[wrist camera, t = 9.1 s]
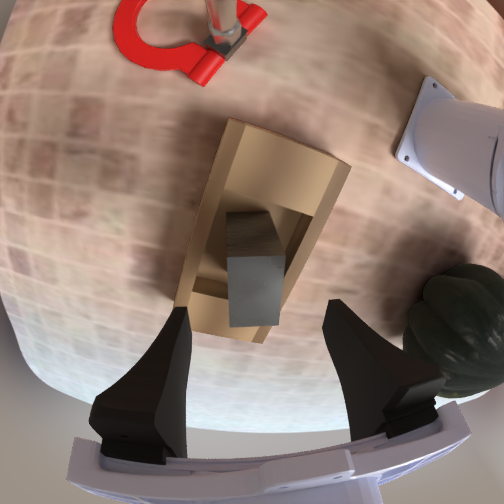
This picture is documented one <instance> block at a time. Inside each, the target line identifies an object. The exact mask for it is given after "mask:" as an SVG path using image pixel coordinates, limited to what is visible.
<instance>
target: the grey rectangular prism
mask: <svg viewBox="0 0 504 504" xmlns="http://www.w3.org/2000/svg"><path fill="white" fill-rule="evenodd" d="M226 238H227V274H228V303H229V328H233V327H257V326H274V325H279V316H280V308H281V299H282V289H283V280H284V270H285V260H286V254H285V252H284V249H283V246H282V244H281V241H280V238H279V236H278V233H277V230H276V228H275V225H274V222H273V220H272V217H271V214H270V212H269V211H241V212H226Z"/></svg>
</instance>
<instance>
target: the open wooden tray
mask: <svg viewBox="0 0 504 504" xmlns="http://www.w3.org/2000/svg"><path fill="white" fill-rule="evenodd" d="M351 167H352V166H350V165H348V164H347V163H345V162H343V161H342V160H340V159H338V158H336V157H335V156H332V155H330V154H328V153H325V152H323V151H321V150H318V149H316V148H314V147H311V146H309V145H306V144H304V143H301V142H299V141H296V140H294V139H291V138H288V137H286V136H283V135H280V134H278V133H275V132H272V131H269V130H267V129H264V128H261V127H258V126H255V125H252V124H249V123H246V122H243V121H240V120H236V119H233V118H230V117H229V118H228V120H227V123H226V126H225V129H224V132H223V135H222V138H221V140H220V143H219V146H218V149H217V152H216V155H215V158H214V161H213V164H212V168H211V171H210V174H209V177H208V180H207V183H206V186H205V190H204V193H203V196H202V200H201V203H200V206H199V210H198V213H197V216H196V220H195V223H194V227H193V231H192V234H191V238H190V241H189V245H188V249H187V252H186V256H185V260H184V264H183V268H182V272H181V276H180V280H179V284H178V288H177V292H176V296H175V300H174V305H173V308H174V307H182V306H187V308H188V314H189V320H190V326H191V330H192V331H196V332H201V333H206V334H211V335H216V336H221V337H226V338H232V339H237V340H243V341H249V342H255V343H261V344H262V343H263V341H264V340H265V338H266V336H267V334H268V333H269V331H270V329H271V327H272V326H257V327H233V328H229V303H228V274H227V238H226V212H241V211H269V212H270V214H271V217H272V220H273V222H274V225H275V228H276V230H277V233H278V236H279V238H280V241H281V244H282V246H283V249H284V252H285V254H286V260H285V270H284V280H283V289H282V299H281V308H280V311H281V309H282V307H283V305H284V303H285V302H286V300H287V298H288V296H289V294H290V292H291V290H292V288H293V287H294V285H295V283H296V281H297V279H298V277H299V275H300V273H301V271H302V269H303V267H304V265H305V263H306V262H307V260H308V258H309V256H310V254H311V252H312V250H313V248H314V246H315V244H316V242H317V240H318V238H319V236H320V234H321V232H322V229H323V227H324V225H325V223H326V221H327V219H328V217H329V215H330V213H331V211H332V209H333V207H334V204H335V202H336V200H337V198H338V196H339V194H340V192H341V189H342V187H343V185H344V183H345V181H346V179H347V176H348V174H349V172H350V170H351Z"/></svg>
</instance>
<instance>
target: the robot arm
mask: <svg viewBox="0 0 504 504" xmlns="http://www.w3.org/2000/svg"><path fill="white" fill-rule="evenodd" d="M433 83H434V85H435V86H434V87H433ZM405 156H407V159H406V160H404V158H405ZM395 157H396V159H397V160H398V161H400V162H401V163H403V164H405V165H406V166H408V167H410V168H411V169H413V170H415V171H416V172H418V173H419V174H421V175H422V176H424V177H425V178H427V179H429V180H430V181H432V182H433V183H434V184H436V185H437V186H439V187H440V188H442V189H443V190H445V191H446V192H447V193H449V194H450V195H452V196H453V197H454V198H456V199H457V200H461V199H462V198H463V196H464V194H465V195H467V196H468V197H470V198H472V199H473V200H475V201H477V202H478V203H480V204H481V205H483V206H484V207H486V208H488V209H489V210H491V211H492V212H494V213H495V214H497V215H498V216H499V217H501V218H502V219H503V222H504V109H500V108H496V107H492V106H487V105H483V104H478V103H473V102H468V101H463V100H457V99H456V98H455V97H454V96H453V95H452V94H451V93H450V92H449V91H448V90H446V89H445V88H444V87H443V86H442V85H441V84H440V83H438V82H437V81H436V80H435V79H434V78H432V77H429V76H427V77H425V79H424V81H423V84H422V87H421V90H420V93H419V95H418V98H417V101H416V103H415V106H414V109H413V111H412V114H411V117H410V119H409V122H408V124H407V127H406V129H405V132H404V134H403V136H402V139H401V141H400V144H399V146H398V148H397V151H396V153H395ZM322 329H323V334H324V338H325V342H326V345H327V348H328V351H329V353H330V356H331V358H332V361H333V364H334V366H335V369H336V371H337V374H338V377H339V380H340V383H341V386H342V391H343V395H344V399H345V404H346V409H347V414H348V420H349V427H350V435H351V442H349V443H345V444H340V445H336V446H331V447H326V448H321V449H316V450H311V451H304V452H298V453H291V454H283V455H275V456H265V457H254V458H253V457H252V458H235V459H191V458H187V445H186V389H187V381H188V374H189V367H190V360H191V353H192V332H191V326H190V320H189V314H188V308H187V306H182V307H174V308H173V310H172V312H171V314H170V316H169V318H168V320H167V321H166V323H165V325H164V326H163V328H162V330H161V331H160V333H159V334H158V336H157V337H156V339H155V340H154V342H153V343H152V345H151V346H150V347H149V349H148V350H147V351H146V353H145V354H144V355H143V356H142V357H141V359H140V360H139V361H138V362H137V363H136V364H135V365H134V366H133V367H132V368H131V369H130V370H129V371H128V372H127V373H126V374H125V375H124V376H123V377H122V378H120V379H119V380H118V381H117V382H116V383H115V384H113V385H112V386H111V387H109V388H108V389H107V390H105V391H104V392H102V393H101V394H99V395H98V396H96V398H95V401H94V403H93V405H92V409H91V413H90V417H89V424H90V426H91V427H92V428H93V429H94V430H95V431H96V432H97V433H98V434H99V435H100V436H101V437H102V444H100V443H98V442H96V441H92V440H87V439H83V438H79V437H75V438H74V442H73V447H72V451H71V456H70V461H69V467H68V473H67V478H66V480H67V481H68V482H70V483H72V484H73V485H75V486H77V487H79V488H81V489H83V490H85V491H87V492H89V493H91V494H95V495H98V496H102V497H106V498H110V499H114V500H118V501H123V502H127V503H132V504H383V500H382V496H381V493H380V489H379V485H381V484H384V483H386V482H389V481H391V480H394V479H396V478H398V477H401V476H403V475H405V474H407V473H410V472H412V471H414V470H416V469H418V468H420V467H422V466H424V465H426V464H428V463H430V462H432V461H434V460H436V459H438V458H440V457H442V456H444V455H445V454H447V453H449V452H450V451H452V450H453V449H454V448H456V447H457V446H458V445H460V444H461V443H462V442H463V441H464V440H466V439H467V438H468V437H469V436H471V434H472V433H471V431H470V429H469V427H468V425H467V423H466V421H465V419H464V417H463V415H462V413H461V411H460V409H459V407H458V405H457V403H456V401H452V402H450V403H447V404H445V405H443V406H441V407H439V408H438V409H435V407H434V405H435V404H436V401H435V399H434V397H435V396H436V395H437V394H438V393H439V392H440V390H441V389H442V388H443V386H444V385H445V382H446V378H445V376H444V374H443V373H442V371H441V369H440V368H439V366H436V365H434V364H431V363H428V362H425V361H423V360H421V359H418V358H416V357H414V356H412V355H410V354H408V353H406V352H404V351H403V350H401V349H399V348H398V347H396V346H394V345H393V344H391V343H390V342H388V341H387V340H386V339H384V338H383V337H381V336H380V335H379V334H378V333H376V332H375V331H374V330H373V329H371V328H370V327H369V326H368V325H367V324H366V323H365V322H363V321H362V320H361V319H360V318H359V317H358V316H357V315H356V314H355V313H354V312H353V311H352V310H351V309H350V308H349V307H348V306H347V305H346V304H345V303H344V302H342V301H341V300H340V299H333V300H329V302H328V306H327V310H326V314H325V318H324V322H323V326H322Z"/></svg>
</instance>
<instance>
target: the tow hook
mask: <svg viewBox="0 0 504 504" xmlns="http://www.w3.org/2000/svg"><path fill="white" fill-rule="evenodd" d="M146 1H147V0H122V1H121V3H120V5H119V7H118V9H117V11H116V14H115V18H114V24H113V33H114V39H115V42H116V44H117V46H118V48H119V50H120V52H121V53H122V54H123V55H125V56H126V57H127V58H128V59H129V60H130V61H132V62H134V63H136V64H138V65H140V66H142V67H144V68H148V69H154V70H159V71H168V70H181V71H183V72H184V73H186V74H188V75H187V77H188V78H190V79H191V80H193V81H194V82H196V83H198V84H199V85H201V86H203V87H204V86H205V85H206V84H207V83H208V81H209V80H210V79H211V78H212V76H213V75H214V74H215V73H216V71H217V70H218V69H219V68H220V67H221V65H222V64H223V63H224V62H225V61H227V60H228V59H229V58H230V57H231V56H232V55H233V54H234V52H235V51H236V50H237V49H238V48H239V47H240V46H241V45H242V44H243V42H244V41H245V40H246V39H247V36H248V35H249V34H250V33H251V32H252V31H253V30H254V29H255V28H256V27H257V26H258V25H259V24H260V23H261V22H262V20H263V19H264V18H266V17H267V15H268V14H267V13H266V11H265V10H264V9H262V8H261V7H260V6H258V5H255V4H250V5H248V4H246V3H245V2H243V1H241V0H205V3H206V7H207V10H208V13H209V17H210V20H209V21H208V23H207V24H208V27H209V30H210V33H211V35H210V36H209V37H208V38H207V39H206V40H205V42H204V43H205V45H206V47H207V49H208V50H207V49H205V48H203V47H201V46H200V45H198V44H196V43H189V44H187V45H184V46H180V47H177V48H168V49H162V48H156V47H152V46H150V45H148V44H146V43H145V42H144V41H143V40H141V38H140V36H139V34H138V32H137V27H136V22H137V16H138V13H139V11H140V9H141V7H142V6H143V5H144V3H145V2H146Z"/></svg>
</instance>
